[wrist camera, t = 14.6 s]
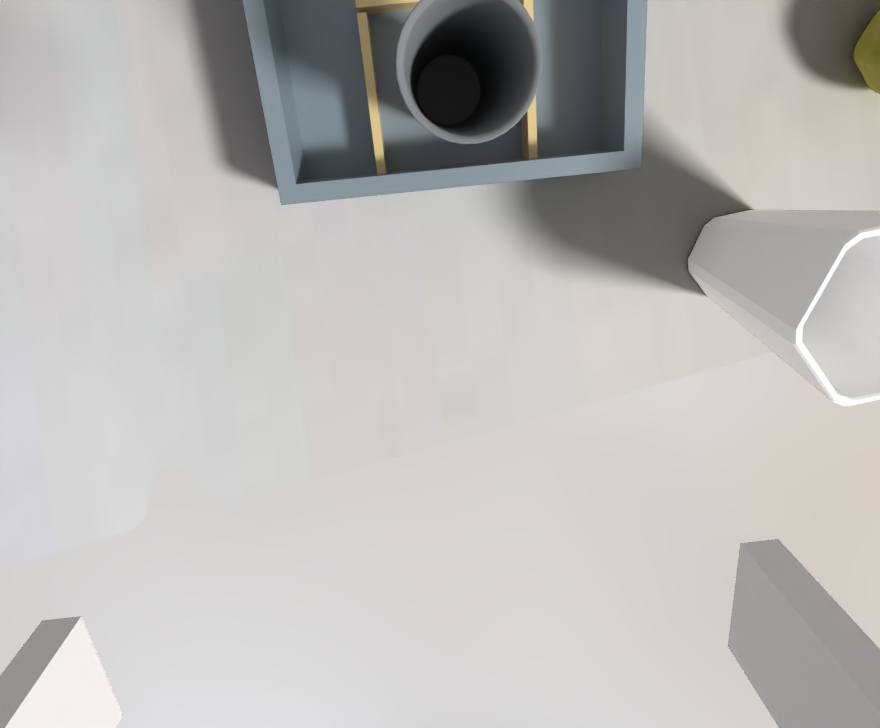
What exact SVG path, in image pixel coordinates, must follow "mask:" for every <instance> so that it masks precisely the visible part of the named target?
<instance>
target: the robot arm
mask: <svg viewBox="0 0 880 728" xmlns="http://www.w3.org/2000/svg"><path fill="white" fill-rule="evenodd" d="M728 647H729V649H730V650H731V652H732V653H733V655H734V657H735V658H736V660H737V662H738V663H739V665H740V666H741V668H742V670H743V671H744V673H745V674H746V676H747V677H748V679H749V681H750V682H751V684H752V685H753V687H754V688H755V690H756V692H757V693H758V695H759V697H760V698H761V700H762V701H763V703H764V704H765V706H766V708H767V709H768V711H769V712H770V714H771V715H772V717H773V719H774V720H775V722H776V724H777V725H778V727H779V728H880V649H879V648H878V647H877V646H876V645H875V644H874V642H873V641H872V640H871V639H870V638H869V637H868V636H867V635H866V634H865V633H864V632H863V631H862V629H861V628H860V627H859V626H858V625H857V624H856V623H855V622H854V621H853V620H852V619H851V618H850V616H849V615H848V614H847V613H846V612H845V611H844V610H843V609H842V608H841V607H840V606H839V605H838V603H837V602H836V601H835V600H834V599H833V598H832V597H831V596H830V595H829V594H828V593H827V591H826V590H825V589H824V588H823V587H822V586H821V585H820V584H819V583H818V582H817V581H816V580H815V578H813V576H812V575H811V574H810V573H809V572H808V571H807V570H806V569H805V568H804V567H803V566H802V564H801V563H800V562H799V561H798V560H797V559H796V558H795V557H794V556H793V555H792V554H791V553H790V551H789V550H787V548H786V547H785V546H784V545H783V544H782V543H781V542H780V541H779V540H778V539H775V540H766V541H757V542H748V543H740V550H739V559H738V567H737V576H736V583H735V592H734V600H733V608H732V616H731V625H730V633H729V641H728ZM122 715H123V714H122V712H121V710H120V707H119V705H118V703H117V700H116V698H115V695H114V693H113V691H112V688H111V686H110V683H109V681H108V679H107V676H106V674H105V672H104V669H103V667H102V665H101V662H100V660H99V657H98V655H97V653H96V650H95V648H94V646H93V643H92V641H91V639H90V636H89V634H88V631H87V629H86V627H85V624H84V622H83V619H82V617H71V618H62V619H53V620H44V621H42V622H41V623H40V624H39V626H38V627H37V628H36V630H35V631H34V632H33V633H32V635H31V636H30V637H29V639H28V640H27V641H26V643H25V644H24V645H23V647H22V648H21V649H20V651H19V652H18V653H17V654H16V656H15V657H14V658H13V660H12V661H11V663H10V664H9V665H8V666H7V668H6V669H5V670H4V672H3V673H2V674H1V676H0V728H116V727H117V725H118V723H119V721H120V719H121V717H122Z"/></svg>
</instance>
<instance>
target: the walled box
mask: <svg viewBox="0 0 880 728" xmlns="http://www.w3.org/2000/svg"><path fill="white" fill-rule="evenodd" d="M242 1H243V6H244V12H245V17H246V22H247V27H248V33H249V38H250V43H251V49H252V54H253V59H254V64H255V70H256V75H257V80H258V85H259V91H260V96H261V101H262V107H263V112H264V117H265V122H266V128H267V133H268V138H269V144H270V149H271V154H272V159H273V165H274V170H275V175H276V181H277V186H278V191H279V196H280V202H281V205H286V204H296V203H306V202H316V201H325V200H335V199H345V198H355V197H365V196H374V195H384V194H394V193H404V192H414V191H424V190H433V189H443V188H453V187H463V186H473V185H482V184H492V183H502V182H512V181H522V180H531V179H541V178H551V177H561V176H571V175H581V174H590V173H600V172H610V171H620V170H630V169H639V168H642V141H643V112H644V82H645V53H646V23H647V0H519V2H520V3H521V4H522V5H523V6H524V7H525V8H526V10H527V11H528V13H529V15H530V17H531V18H532V20H533V22H534V24H535V27H536V29H537V32H538V35H539V38H540V44H541V50H542V72H541V77H540V82H539V87H538V89H537V92H536V95H535V97H534V100H533V102H532V103H531V105H530V107H529V108H528V110H527V112H526V113H525V115H524V116H523V117H522V118H521V119H520V120H519V121H518V123H517V124H516V125H515V126H513V127H512V128H511V129H509V130H508V131H507V132H506V133H504V134H502V135H500V136H498V137H496V138H494V139H492V140H489V141H486V142H482V143H478V144H460V143H453V142H449V141H447V140H444V139H442V138H439V137H437V136H435V135H434V134H432V133H431V132H429V131H428V130H426V129H425V128H424V127H423V126H422V125H421V124H420V123H419V122H418V121H417V120H416V119H415V118H414V116H413V115H412V114H411V112H410V111H409V109H408V108H407V106H406V104H405V102H404V100H403V97H402V95H401V93H400V89H399V85H398V81H397V77H396V64H395V59H396V50H397V43H398V40H399V36H400V33H401V29H402V27H403V25H404V23H405V21H406V19H407V17H408V15H409V14H410V12H411V11H412V10H413V9H414V7H415V6H416V5H417V3H418V2H419V1H420V0H242Z"/></svg>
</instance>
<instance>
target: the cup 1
mask: <svg viewBox="0 0 880 728" xmlns="http://www.w3.org/2000/svg"><path fill="white" fill-rule="evenodd" d="M395 64H396V77H397V81H398V85H399V89H400V93H401V95H402V97H403V100H404V102H405V104H406V106H407V108H408V109H409V111H410V112H411V114H412V115H413V116H414V118H415V119H416V120H417V121H418V122H419V123H420V124H421V125H422V126H423V127H424V128H425V129H426V130H428V131H429V132H431V133H432V134H434V135H435V136H437V137H439V138H442V139H444V140H447V141H449V142H453V143H460V144H478V143H482V142H486V141H489V140H492V139H494V138H496V137H498V136H500V135H502V134H504V133H506V132H507V131H508V130H509V129H511V128H512V127H513V126H515V125H516V124H517V123H518V121H519V120H520V119H521V118H522V117H523V116H524V115H525V113H526V112H527V110H528V108H529V107H530V105H531V103H532V102H533V100H534V97H535V95H536V92H537V89H538V87H539V82H540V77H541V72H542V50H541V44H540V38H539V35H538V32H537V29H536V27H535V24H534V22H533V20H532V18H531V17H530V15H529V13H528V11H527V10H526V8H525V7H524V6H523V5H522V4H521V3H520V2H519V0H420V1H419V2H418V3H417V5H416V6H415V7H414V9H413V10H412V11H411V12H410V14H409V15H408V17H407V19H406V21H405V23H404V25H403V27H402V29H401V33H400V36H399V40H398V43H397V50H396V59H395Z"/></svg>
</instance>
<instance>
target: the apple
mask: <svg viewBox="0 0 880 728" xmlns="http://www.w3.org/2000/svg"><path fill="white" fill-rule="evenodd" d="M854 61H855V63H856V65H857V66H858V68H859V70H860V71H861V73H862V75H863V77H864V80H865V81H866V83H867V85H868V86H869V87H870V88H871V89H872V90H874V91H875V92H877V93H879V94H880V10H879V11H878V12H877V13H876V15H875V16H874V17H873V19H872V20H871V21H870V23H869V24H868V26H867V27H866V29H865V30H864V32H863V34H862V35H861V37H860V39H859V40H858V42H857V44H856V46H855V49H854Z"/></svg>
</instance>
